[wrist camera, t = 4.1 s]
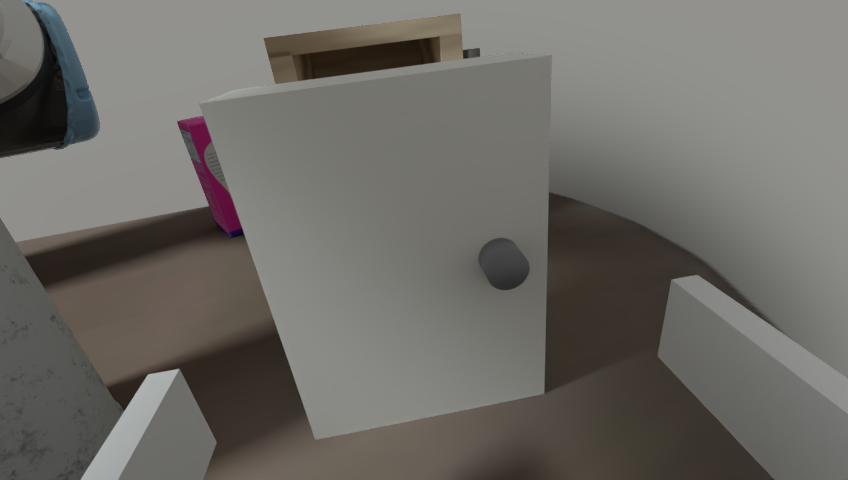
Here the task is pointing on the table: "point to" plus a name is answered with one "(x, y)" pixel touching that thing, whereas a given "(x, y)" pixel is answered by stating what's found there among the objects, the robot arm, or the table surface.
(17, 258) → the grey cylinder
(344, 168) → the door
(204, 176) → the supplement box
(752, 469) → the table surface
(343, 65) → the cabinet
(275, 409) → the table surface
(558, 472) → the table surface
